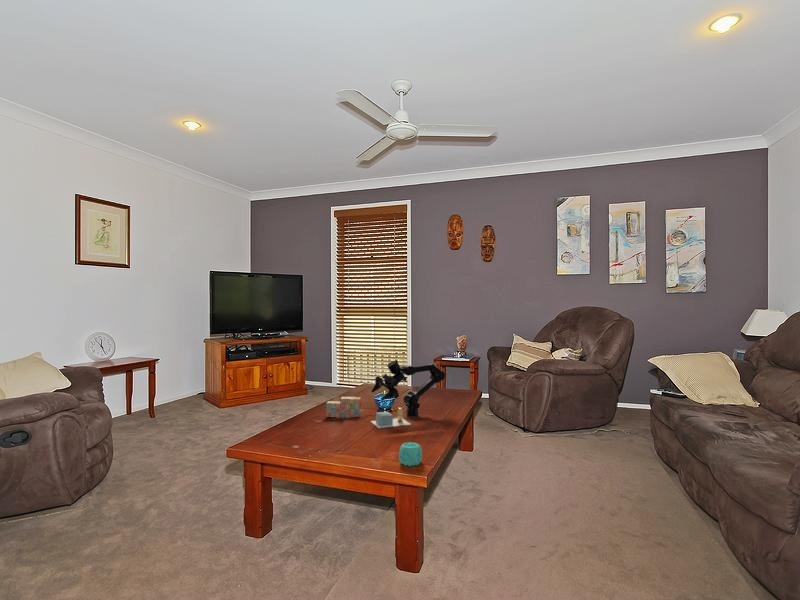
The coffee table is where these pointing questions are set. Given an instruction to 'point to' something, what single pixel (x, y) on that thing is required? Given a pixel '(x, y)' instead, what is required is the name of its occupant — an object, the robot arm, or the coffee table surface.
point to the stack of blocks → (344, 407)
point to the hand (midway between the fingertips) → (376, 395)
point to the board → (395, 423)
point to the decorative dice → (410, 454)
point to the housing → (384, 418)
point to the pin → (400, 414)
